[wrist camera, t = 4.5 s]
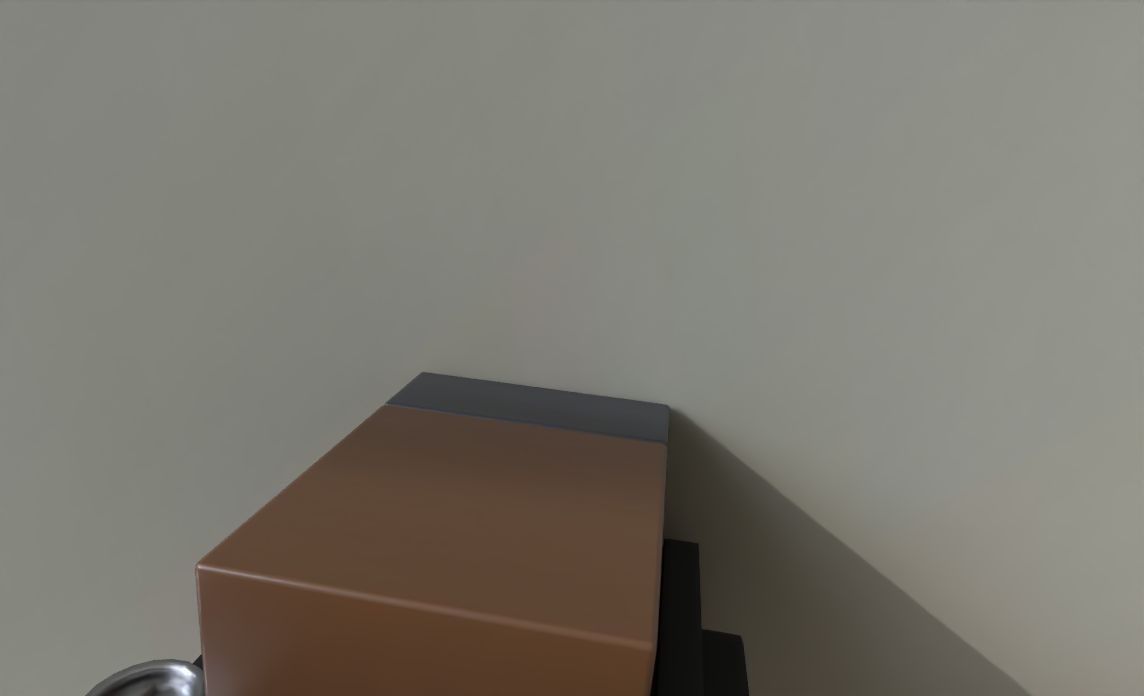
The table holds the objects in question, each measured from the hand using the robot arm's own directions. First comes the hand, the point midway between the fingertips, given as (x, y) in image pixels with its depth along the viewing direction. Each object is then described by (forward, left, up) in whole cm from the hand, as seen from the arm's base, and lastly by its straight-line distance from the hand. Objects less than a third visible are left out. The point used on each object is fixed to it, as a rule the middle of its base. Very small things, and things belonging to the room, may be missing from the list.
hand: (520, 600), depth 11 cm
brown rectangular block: (0, 0, -1) cm, 1 cm away
